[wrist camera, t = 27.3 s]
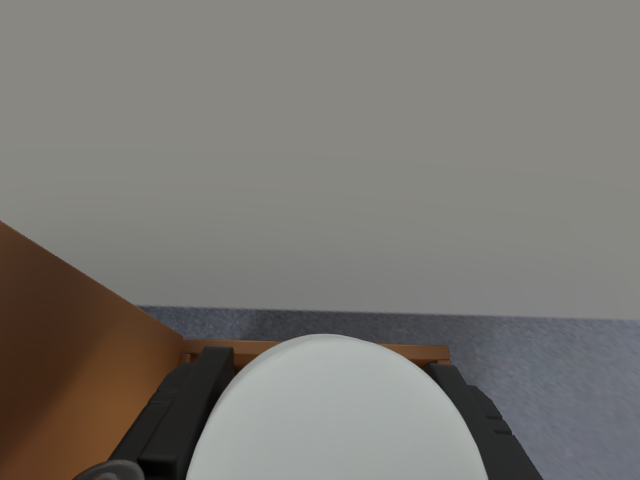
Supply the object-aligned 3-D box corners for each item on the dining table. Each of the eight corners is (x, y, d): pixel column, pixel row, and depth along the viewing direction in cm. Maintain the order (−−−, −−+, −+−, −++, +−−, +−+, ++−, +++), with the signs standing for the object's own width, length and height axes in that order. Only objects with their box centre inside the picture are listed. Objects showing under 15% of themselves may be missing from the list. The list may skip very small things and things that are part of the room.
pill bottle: (220, 425, 13) (57, 421, 4) (333, 347, 15) (377, 234, 6) (292, 583, 11) (252, 1172, 2) (415, 472, 12) (661, 571, 4)
